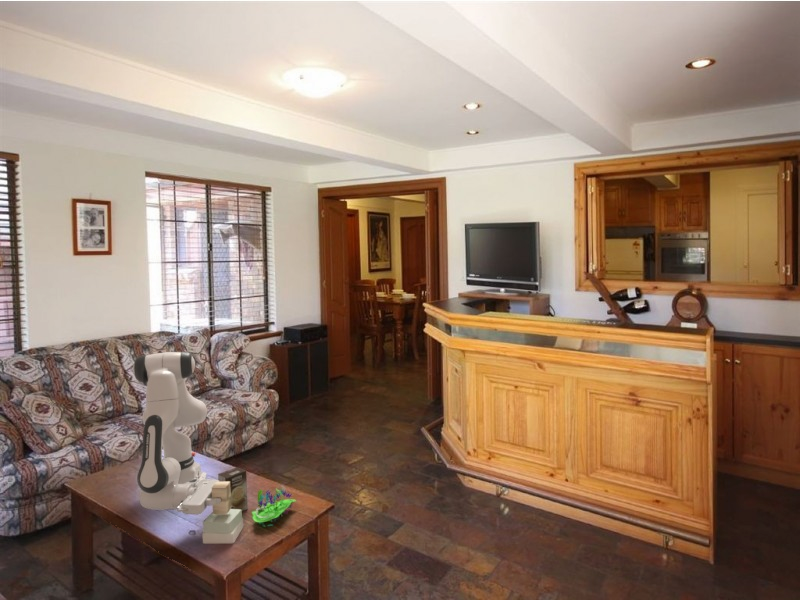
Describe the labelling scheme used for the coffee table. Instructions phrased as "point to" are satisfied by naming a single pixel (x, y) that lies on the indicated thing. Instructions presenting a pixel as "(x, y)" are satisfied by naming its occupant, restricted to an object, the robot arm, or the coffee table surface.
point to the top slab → (222, 522)
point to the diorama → (271, 506)
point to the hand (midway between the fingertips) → (224, 496)
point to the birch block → (224, 492)
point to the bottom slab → (223, 535)
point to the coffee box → (236, 487)
